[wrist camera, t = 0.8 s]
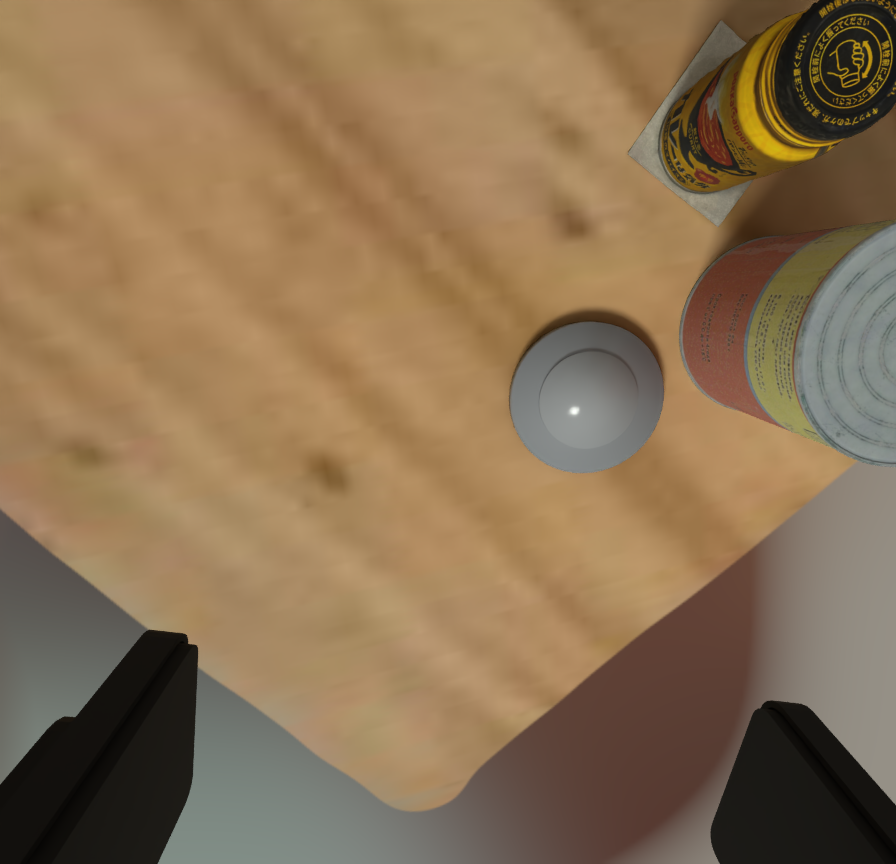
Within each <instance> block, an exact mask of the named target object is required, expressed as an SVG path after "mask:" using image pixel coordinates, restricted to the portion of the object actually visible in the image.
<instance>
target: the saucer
mask: <svg viewBox="0 0 896 864" xmlns="http://www.w3.org/2000/svg"><path fill="white" fill-rule="evenodd" d="M663 400H664V386H663V378H662V374H661V370H660V368H659V365H658V363H657V360H656V359H655V357H654V355H653V354H652V352H651V351H650V349H649V348H648V347H647V346H646V345H645V344H644V343H643V342H642V341H641V340H640V339H639V338H638V337H636V336H635V335H634V334H632V333H631V332H629V331H627V330H625V329H623V328H621V327H618V326H615V325H612V324H607V323H602V322H594V321H583V322H575V323H570V324H566V325H564V326H561V327H558V328H556V329H554V330H552V331H550V332H548V333H547V334H545V335H544V336H542V337H541V338H540V339H538V340H537V341H536V342H535V343H534V344H533V345H532V346H531V347H530V348H529V349H528V350H527V351H526V353H525V354H524V355H523V357H522V358H521V360H520V362H519V363H518V365H517V367H516V369H515V372H514V375H513V377H512V381H511V385H510V392H509V409H510V414H511V419H512V422H513V425H514V427H515V429H516V431H517V433H518V435H519V437H520V439H521V440H522V442H523V443H524V445H525V446H526V447H527V448H528V449H529V451H530V452H531V453H532V454H533V455H535V456H536V457H537V458H538V459H539V460H541V461H543V462H544V463H546V464H547V465H550V466H552V467H554V468H556V469H559V470H563V471H567V472H573V473H591V472H597V471H602V470H605V469H608V468H611V467H613V466H616V465H618V464H620V463H622V462H623V461H625V460H626V459H628V458H630V457H631V456H632V455H633V454H634V453H636V452H637V451H638V450H639V449H640V448H641V447H642V446H643V445H644V444H645V442H646V441H647V440H648V438H649V437H650V436H651V434H652V432H653V431H654V429H655V427H656V425H657V422H658V420H659V418H660V414H661V411H662V406H663Z"/></svg>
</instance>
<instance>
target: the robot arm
mask: <svg viewBox="0 0 896 864" xmlns="http://www.w3.org/2000/svg"><path fill="white" fill-rule="evenodd" d="M197 667H198V647H197V645H192V644H188V638H187V635H186V634H183V633H174V632H165V631H157V630H148V631H146V632H145V633H144V634H143V635H142V636H141V637H140V638H139V640H138V641H137V642H136V643H135V644H134V646H133V647H132V648H131V649H130V651H129V652H128V653H127V654H126V656H125V657H124V658H123V659H122V660H121V662H120V663H119V664H118V665H117V667H116V668H115V669H114V670H113V672H112V673H111V674H110V675H109V677H108V678H107V679H106V680H105V682H104V683H103V684H102V685H101V687H100V688H99V689H98V690H97V691H96V693H95V694H94V695H93V696H92V698H91V699H90V700H89V701H88V703H87V704H86V705H85V706H84V708H83V709H82V710H81V711H80V712H79V714H78V715H77V716H76V717H62V718H61V719H59V720H57V721H56V722H55V723H54V724H52V725H51V726H50V727H49V728H48V729H47V730H46V732H45V733H44V734H43V735H42V736H41V737H40V739H39V740H38V741H37V742H36V743H35V744H34V746H33V747H32V748H31V749H30V750H29V752H28V753H27V754H26V755H25V756H24V758H23V759H22V760H21V761H20V762H19V763H18V765H17V766H16V767H15V768H14V769H13V770H12V772H11V773H10V774H9V775H8V776H7V777H6V779H5V780H4V781H3V782H2V783H1V784H0V864H158V862H159V859H160V857H161V855H162V853H163V851H164V849H165V847H166V844H167V842H168V840H169V838H170V836H171V833H172V831H173V829H174V827H175V825H176V823H177V821H178V819H179V816H180V814H181V812H182V810H183V808H184V806H185V803H186V801H187V798H188V795H189V792H190V788H191V784H192V777H193V758H194V736H195V713H196V689H197ZM711 843H712V847H713V850H714V852H715V855H716V857H717V859H718V861H719V863H720V864H896V805H895V804H894V803H893V802H892V801H891V799H890V798H889V797H888V796H887V795H886V794H885V793H884V791H882V789H881V788H880V787H879V786H878V785H877V784H876V782H875V781H874V780H873V779H872V778H871V777H870V776H869V775H868V773H867V772H866V771H865V770H864V769H863V768H862V767H861V765H860V764H859V763H858V762H857V761H856V760H855V759H854V758H853V756H852V755H851V754H850V753H849V752H848V751H847V750H846V748H845V747H844V746H843V745H842V744H841V743H840V742H839V741H838V739H837V738H836V737H835V736H834V735H833V734H832V733H831V732H830V730H829V729H828V728H827V727H826V726H825V725H824V724H823V722H822V721H821V720H820V719H819V718H818V717H817V716H816V715H815V713H814V712H813V711H812V710H811V709H810V708H808V707H807V706H805V705H802V704H798V703H789V702H781V701H767V702H765V703H764V704H763V705H762V707H761V708H760V709H757V710H755V711H754V713H753V715H752V717H751V720H750V723H749V726H748V728H747V731H746V734H745V737H744V739H743V742H742V745H741V747H740V750H739V753H738V755H737V758H736V761H735V763H734V766H733V769H732V772H731V774H730V777H729V780H728V782H727V785H726V788H725V791H724V793H723V796H722V799H721V801H720V804H719V807H718V810H717V812H716V815H715V817H714V820H713V823H712V826H711Z"/></svg>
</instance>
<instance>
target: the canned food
mask: <svg viewBox="0 0 896 864" xmlns="http://www.w3.org/2000/svg"><path fill="white" fill-rule="evenodd" d="M679 343H680V351H681V356H682V360H683V363H684V366H685V368H686V370H687V373H688V374H689V376H690V378H691V380H692V381H693V382H694V384H695V385H696V386H697V387H698V389H699V390H700V391H701V392H702V393H704V394H705V395H706V396H707V397H708V398H710V399H711V400H713V401H714V402H716V403H718V404H720V405H723V406H725V407H728V408H731V409H734V410H738V411H741V412H744V413H746V414H749V415H751V416H754V417H756V418H759V419H761V420H764V421H766V422H769V423H771V424H774V425H776V426H779V427H781V428H784V429H786V430H789V431H791V432H794V433H796V434H799V435H801V436H804V437H806V438H809V439H811V440H814V441H816V442H819V443H821V444H824V445H826V446H829V447H831V448H834V449H836V450H837V451H838V452H840V453H842V454H844V455H846V456H848V457H850V458H853V459H855V460H858V461H860V462H864V463H867V464H871V465H877V466H885V467H896V220H889V221H882V222H875V223H868V224H861V225H854V226H848V227H841V228H834V229H827V230H820V231H813V232H806V233H799V234H792V235H786V236H768V237H762V238H757V239H753V240H750V241H747V242H745V243H743V244H740V245H738V246H736V247H734V248H733V249H731V250H729V251H728V252H726V253H725V254H723V255H722V256H720V257H719V258H718V259H717V260H716V261H714V262H713V263H712V264H711V265H710V266H709V267H708V268H707V269H706V271H705V272H704V273H703V274H702V275H701V277H700V278H699V279H698V281H697V282H696V284H695V285H694V287H693V289H692V290H691V292H690V294H689V297H688V299H687V301H686V304H685V306H684V310H683V313H682V317H681V323H680V332H679Z"/></svg>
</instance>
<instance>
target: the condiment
mask: <svg viewBox="0 0 896 864" xmlns="http://www.w3.org/2000/svg"><path fill="white" fill-rule="evenodd" d="M895 103H896V1H895V0H819V1H818V2H817V3H814V4H813V5H812V6H811V8H810V9H807V10H806V11H804V12H800V13H797V14H794V15H790V16H786V17H785V18H784V19H782V20H780V21H777V22H776V23H774V24H773V25H771V26H770V27H768V28H767V29H766V30H765V31H764V32H762V33H761V34H758V35H755V36H754V37H753V38H751V39H750V40H749V41H748V43H746V42H744V41H743V40H742V39H741V38H739V37H738V36H737V35H736V34H735V32H734V31H733V30H731V29H730V28H729V27H728V26H727V25H726V24H725V23H724V22H723V21H721V20H720V22H719V23H718V25H717V26H716V28H715V29H714V31H713V32H712V34H711V35H710V36H709V38H708V39H707V41H706V42H705V43H704V45H703V46H702V48H701V49H700V51H699V52H698V54H697V55H696V56H695V58H694V59H693V61H692V62H691V64H690V65H689V66H688V68H687V69H686V71H685V72H684V73H683V75H682V76H681V78H680V79H679V81H678V82H677V83H676V85H675V86H674V88H673V89H672V90H671V92H670V93H669V95H668V96H667V97H666V99H665V100H664V102H663V103H662V105H661V106H660V108H659V109H658V110H657V112H656V113H655V115H654V116H653V118H652V119H651V120H650V122H649V123H648V125H647V126H646V128H645V129H644V131H643V132H642V133H641V135H640V136H639V138H638V139H637V141H636V142H635V143H634V145H633V146H632V148H631V149H630V151H629V153H628V155H630V156H631V157H632V158H633V159H634V160H636V161H637V162H638V163H639V164H640V165H642V166H643V167H644V168H645V169H646V170H648V171H649V172H650V173H651V174H652V175H653V176H655V177H656V178H657V179H658V180H659V181H661V182H662V183H663V184H664V185H665V186H667V187H668V188H669V189H670V190H672V191H673V192H674V193H676V194H677V195H678V196H679V197H681V198H682V199H683V200H684V201H685V202H687V203H688V204H689V205H690V206H692V207H693V208H695V209H696V210H697V211H699V212H700V213H701V214H703V215H704V216H705V217H706V218H708V219H709V220H710V221H711V222H712V223H714V224H715V225H716V226H717V227H719V225H720V224H721V223H722V221H723V220H724V219H725V217H726V216H727V215H728V213H729V212H730V211H731V209H732V208H733V206H734V205H735V204H736V202H737V201H738V200H739V198H740V197H741V196H742V195H743V193H744V192H745V190H746V189H747V188H748V186H749V185H750V184H751V182H752V181H753V180H754V179H757V178H760V177H764V176H767V175H769V174H772V173H774V172H777V171H780V170H783V169H788V168H790V167H792V166H795V165H798V164H800V163H803V162H805V161H808V160H811V159H813V158H816V157H818V156H820V155H822V154H825V153H827V152H828V151H829V150H830V149H832V148H833V147H835V146H836V145H837V144H838V143H839V142H840V141H842V140H843V139H845V138H848V137H851V136H853V135H855V134H858V133H861V132H863V131H864V130H866V129H867V128H869V127H871V126H872V125H873V124H875V123H876V122H877V121H878V120H880V119H881V118H882V117H884V116H885V115H886V114H887V113H888V112H889V111H890V110H891V109H892V108H893V106H894V105H895Z"/></svg>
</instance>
